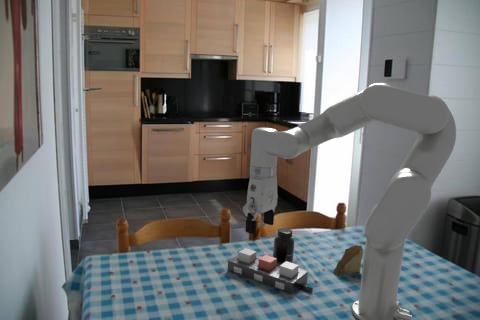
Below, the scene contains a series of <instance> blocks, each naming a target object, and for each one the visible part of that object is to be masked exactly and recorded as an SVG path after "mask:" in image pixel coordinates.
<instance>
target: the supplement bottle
mask: <svg viewBox="0 0 480 320" xmlns="http://www.w3.org/2000/svg"><path fill="white" fill-rule="evenodd" d="M294 249H295V240H294V238H293V230H292V229H290V228H287V227H280V228H277V236H275V238H274V239H273V249H272V257H274V258H277V261H278V262H281V263H284V262H286V261H287V262H290V263H293V262H294V251H295V250H294ZM293 264H294V263H293Z"/></svg>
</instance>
